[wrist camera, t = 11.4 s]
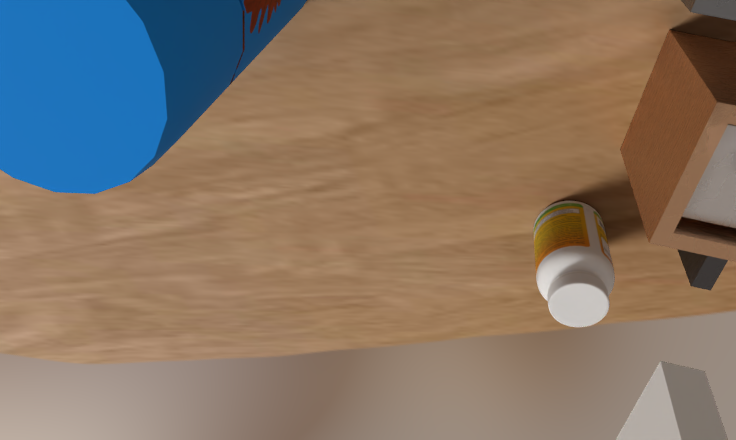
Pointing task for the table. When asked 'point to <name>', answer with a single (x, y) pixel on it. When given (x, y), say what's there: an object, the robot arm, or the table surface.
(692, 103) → the light wood box
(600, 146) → the table surface
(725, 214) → the grey capped rod
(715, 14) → the grey box
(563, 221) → the supplement bottle
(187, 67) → the thermos
